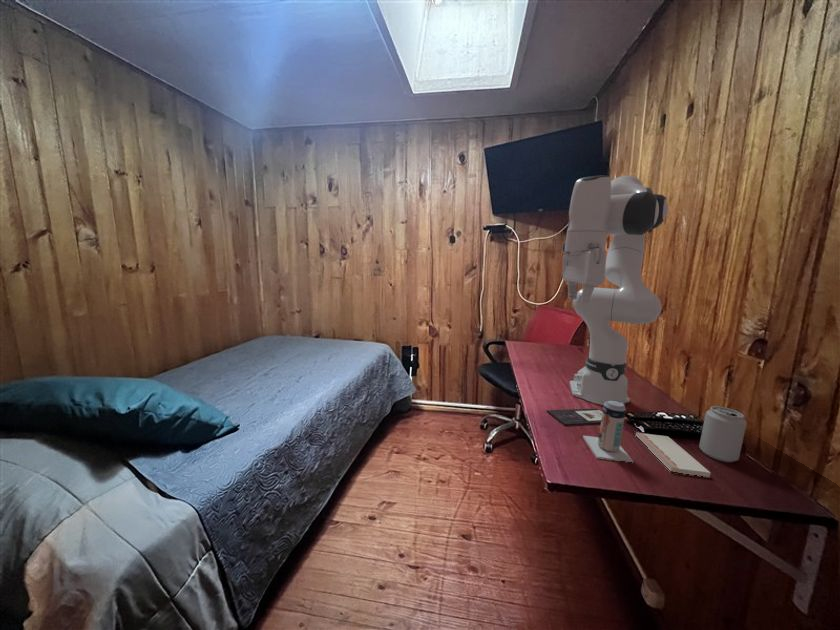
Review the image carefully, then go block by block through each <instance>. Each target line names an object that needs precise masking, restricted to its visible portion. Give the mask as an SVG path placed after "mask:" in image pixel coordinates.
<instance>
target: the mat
mask: <svg viewBox="0 0 840 630" xmlns="http://www.w3.org/2000/svg"><path fill="white" fill-rule="evenodd" d="M582 439H583V440H584V441H585V442H586V444H587V446H588V447H589V448H590V450H591V452H592V454H593V455H594V456H595V458H596V459H599V460H605V459H606V461H613V460H614V461H613V462H620V461H625V462H624V463H628V462H632V463H631V464H634V460H633V459H632V457H630V456H629V454H628V453H627V451H626V450H624V448H623V447H622V445H620V449H619V451H616V452H609V451H606V450H604V449H602V448H601V447H600V446H599V445H598V440H599V436H598V437H597V436H590V435H583V436H582Z"/></svg>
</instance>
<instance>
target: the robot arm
mask: <svg viewBox="0 0 840 630" xmlns="http://www.w3.org/2000/svg"><path fill="white" fill-rule="evenodd" d="M653 192H654V191H653V190H652V188H650V187H648V186H646V187H645V186H643V183H642V181H641V180H640V179H639V178H638V177H636V176H633V175H622V176H619V177H616V178H614V179H612V178H611V176H609V175H603V174H602V175H600V174H599V175H592V176H591V175H590V176H585V177H584V176H583V177H580V178H579V179H576V181H575V183H574V186H573V189H572V194H571V197H570V204H569V208H568V209H569V210H568V217H569V225H568V227H567V230H566V236H565V242H564V243H563V244H562V247H561V253H562V254H563V256H562V269H561V271H562V272H561V275H562V280H563V281H565V282H567V290H568V295H567V298H568V299H569V300H573V301H572V307H573V309H574V312H575V313H576V314H577V315H578V316H579V317H580V318H581V319H582V321H584V323H585V324H586V326H587V328H588V331H589V337H590V339H589V340H590V341H589V352H588V353H589V354H588V356H587V357H586V360H585V364H584V365H585V366H583V367H582V368H580V369H579V370H578V371H577V373H574V374H573V380H570V381H569V386H570V387H569V388H570V391H571V393H572V394H571V395H572V396H573V397H576V398H580V399H583V400H585V401H588V402H590V403H593V404H597V405H601V406H604V403H605V402H606V401H607V400H615V401H619V402H622V403H623V404H624V405H625V404H627V403H630V402H631V398H629V397H628V377H626V376H625V374H626V369H627V363H626V357H627V352H628V351H627V350H628V346H629V345H628V344H629V343H628V339H626V337H625V336H624V335H623V334H622V333H620V332H618V331H616V330H615V329H613V327H612V326H611V324H610V322H617V323H618V322H619V323H625V324H632V325H633V324H635V325H640V324H652V323H653V322H654V321H656V320H657V319H658V317H659V316H660V314H661V312H662V302H661V299H660V298H659V297H658V296H657V294H655V293H654V292H653V291H651V290H650V289H648V287H647V286H646V285H645V283H644V282H643V279H642V265H643V260H644V255H645V244H646V243H645V234H646V233H648V234H651V233H652V232H653V230H655V229H657V228H658V227H660V225H662V224H663V223H664V221H665V219H666V217H667V215H668V213H669V204H668V203H669V202H668V201H667V198H666V196H665V195H663V194H657V193H653ZM608 235H613V238H612V240H611V242H610V244H609V248H608V251H607V254H606V253H605V251H606V244H607V243H606V242H607V238H608V237H607V236H608ZM605 278H606V280H607V281H608V282H609V283H611V284H613V285H615V286H617V288H607V287H606V288H605V287H597V286H602V285H603V284H604V281H605ZM578 284H582V288H581V289H580V290H578V289H577V287H578ZM595 286H596V287H595ZM618 287H619V288H618ZM577 290H578V291H577Z"/></svg>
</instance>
